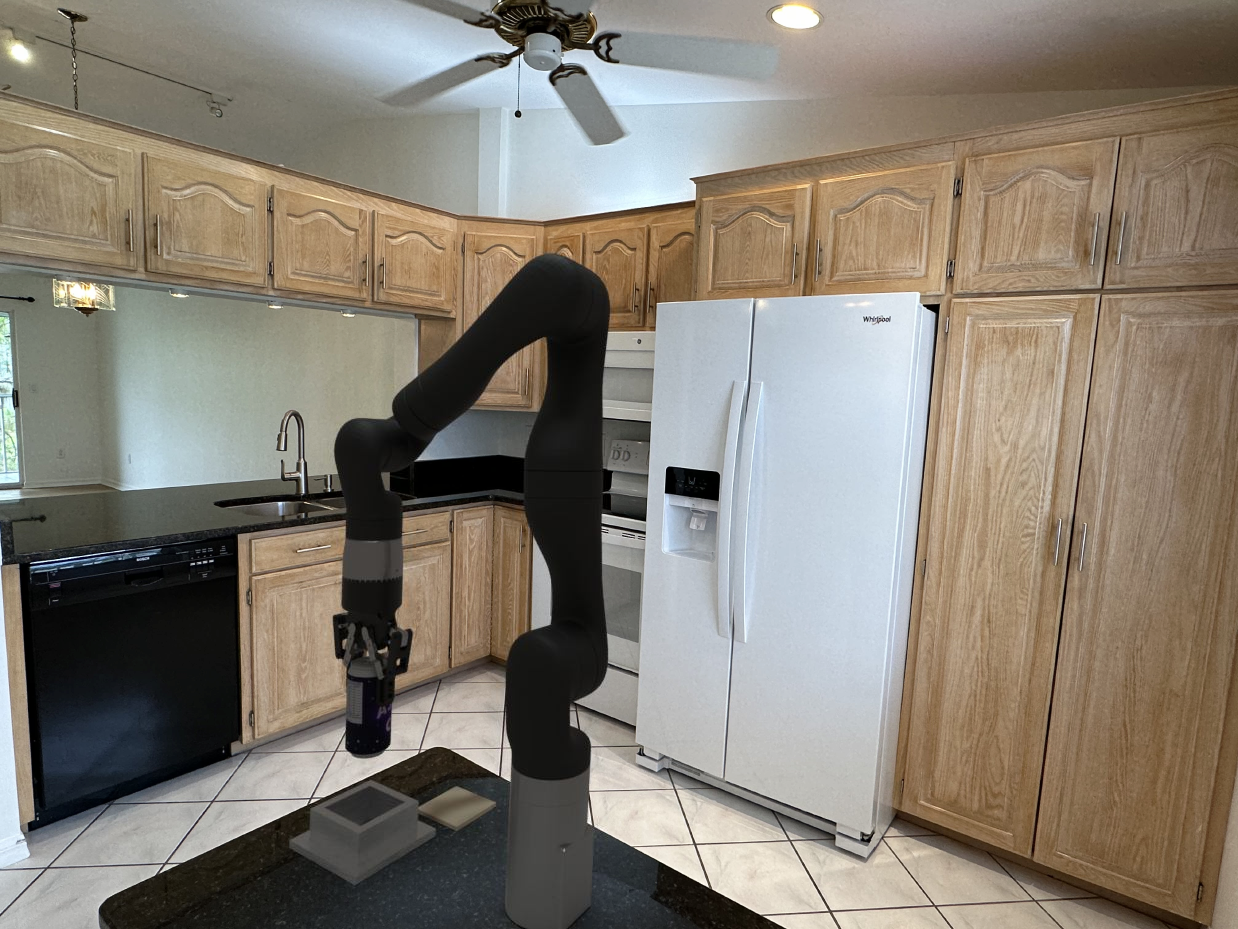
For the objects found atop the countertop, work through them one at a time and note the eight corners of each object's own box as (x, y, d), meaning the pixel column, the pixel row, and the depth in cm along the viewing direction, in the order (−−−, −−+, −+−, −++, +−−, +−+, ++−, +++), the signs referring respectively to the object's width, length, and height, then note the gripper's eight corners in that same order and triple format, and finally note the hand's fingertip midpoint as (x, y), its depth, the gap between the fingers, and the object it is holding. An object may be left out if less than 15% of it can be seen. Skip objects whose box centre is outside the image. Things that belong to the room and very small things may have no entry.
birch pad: (495, 806, 104) (496, 802, 104) (456, 831, 98) (457, 827, 98) (456, 790, 109) (456, 786, 109) (416, 812, 102) (416, 808, 102)
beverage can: (380, 763, 90) (382, 670, 90) (337, 759, 91) (339, 667, 90) (397, 743, 96) (399, 656, 96) (356, 740, 96) (359, 653, 96)
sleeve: (435, 836, 96) (436, 800, 96) (355, 885, 85) (356, 845, 85) (371, 805, 103) (372, 771, 103) (289, 847, 92) (290, 810, 92)
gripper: (432, 576, 91) (428, 704, 92) (363, 560, 100) (360, 679, 100) (383, 584, 85) (379, 722, 86) (314, 567, 93) (311, 693, 94)
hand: (369, 698), depth 93 cm, fingers closed on beverage can, 5 cm apart
